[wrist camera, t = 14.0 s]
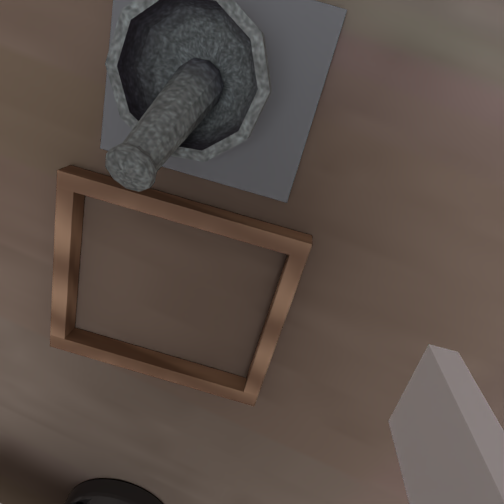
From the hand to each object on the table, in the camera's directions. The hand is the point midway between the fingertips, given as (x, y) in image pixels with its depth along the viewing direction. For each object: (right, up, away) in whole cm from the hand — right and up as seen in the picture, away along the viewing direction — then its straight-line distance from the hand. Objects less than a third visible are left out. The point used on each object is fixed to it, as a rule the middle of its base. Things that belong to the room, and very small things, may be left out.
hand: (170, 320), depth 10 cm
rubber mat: (-1, +15, +20) cm, 25 cm away
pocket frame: (-6, -2, +28) cm, 29 cm away
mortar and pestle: (-1, +14, +19) cm, 24 cm away
